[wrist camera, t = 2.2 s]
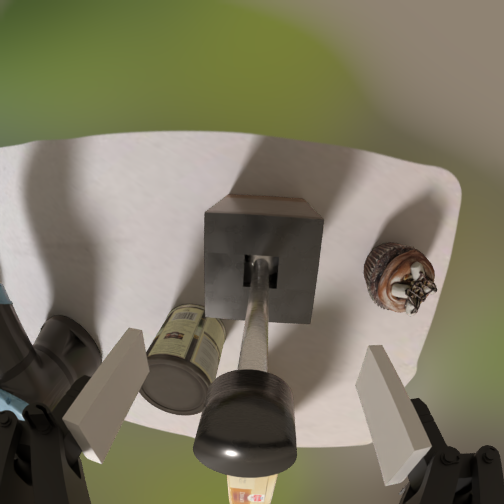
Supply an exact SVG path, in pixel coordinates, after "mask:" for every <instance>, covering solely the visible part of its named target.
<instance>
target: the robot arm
mask: <svg viewBox="0 0 504 504" xmlns="http://www.w3.org/2000/svg"><path fill="white" fill-rule="evenodd" d="M12 304H13V303H12V301H10V299H9V297H8V295H7V293H6V290H5V288H4V286H3V285H2V284H1V283H0V411H1V412H0V504H91V501H90V497H89V494H88V490H87V486H86V481H85V477H84V473H83V467H82V462H81V459H80V457H79V456H80V454H81V452H83V453H84V455H85V456H86V458H88V459H90V460H93V461H95V462H98V463H100V464H102V463H103V461H104V459H105V457H106V455H107V453H108V451H109V449H110V447H111V445H112V443H113V441H114V439H115V437H116V435H117V433H118V431H119V429H120V427H121V425H122V423H123V421H124V419H125V417H126V415H127V413H128V411H129V409H130V407H131V405H132V403H133V402H134V400H135V398H136V396H137V394H138V392H139V390H140V388H141V386H142V384H143V382H144V381H145V379H146V377H147V375H148V373H149V366H148V361H147V355H146V350H145V344H144V339H143V332H142V330H138V329H132V328H128V330H127V331H126V332H125V334H124V335H123V336H122V337H121V339H120V340H119V341H118V343H117V344H116V345H115V346H114V348H113V349H112V350H111V352H110V353H109V354H108V356H107V357H106V358H105V360H104V361H103V362H102V364H101V356H100V353H99V350H98V348H97V346H96V344H95V342H94V341H93V339H92V338H91V336H90V335H89V334H88V333H87V332H86V331H85V330H84V329H83V328H82V327H81V326H80V325H79V324H78V323H76V322H75V321H73V320H72V319H70V318H68V317H65V316H61V315H56V316H53V317H51V318H50V319H48V320H47V321H46V322H45V323H44V324H43V326H42V328H41V331H40V333H39V335H38V337H37V339H36V341H35V343H34V344H33V345H32V344H31V342H30V340H29V338H28V336H27V334H26V332H25V330H24V328H23V326H22V324H21V322H20V320H19V318H18V316H17V314H16V312H15V309H14V307H13V305H12ZM355 386H356V389H357V392H358V395H359V398H360V401H361V404H362V407H363V411H364V414H365V417H366V420H367V424H368V427H369V430H370V433H371V437H372V440H373V444H374V447H375V450H376V454H377V458H378V461H379V465H380V468H381V472H382V476H383V480H384V483H385V486H388V485H392V484H397V483H401V482H402V481H403V480H404V479H405V478H406V477H407V476H408V478H409V483H408V484H407V485H406V486H405V487H404V488H403V489H402V490H401V491H400V493H399V494H402V493H403V492H404V493H403V496H402V498H401V500H400V503H399V504H504V479H503V473H502V465H501V459H500V455H499V452H498V451H497V449H496V448H494V447H493V446H489V445H486V446H482V447H481V448H480V449H479V450H478V451H477V452H476V453H470V454H460V452H459V451H458V450H457V449H455V448H453V447H450V446H447V445H446V443H445V441H444V439H443V437H442V435H441V433H440V431H439V429H438V427H437V425H436V423H435V422H434V419H433V417H432V415H430V414H431V413H430V411H429V409H428V407H427V405H426V404H425V403H424V402H422V401H421V400H420V399H419V398H416V399H410V398H409V396H408V394H407V392H406V390H405V388H404V386H403V384H402V382H401V380H400V378H399V376H398V374H397V372H396V370H395V368H394V367H393V365H392V363H391V361H390V359H389V357H388V355H387V353H386V352H385V350H384V348H383V346H382V345H372V346H368V349H367V352H366V355H365V359H364V362H363V365H362V368H361V371H360V374H359V377H358V380H357V382H356V385H355Z"/></svg>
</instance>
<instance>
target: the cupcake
mask: <svg viewBox="0 0 504 504" xmlns="http://www.w3.org/2000/svg"><path fill="white" fill-rule="evenodd" d="M364 278H365V280H366V283H367V288H368V292H369V294H370V297H371V298H372V301H374V303H375V304H376V303H377V306H378V307H379V305H380V307H381V308H382V307H383V309H387V310H391V311H392V310H393V311H395V312H400V313H401V312H406V314H407V315H409V316H412V315H414V314H416V313H417V312H418V309H419V307H420V304H421V303H422V302H424V301H425V299H426V297H427V296H428V295H429V294H431V295H432V294H434V293H436V292H437V288H436V285H435V283H434V278H435V274H434V269H433V266H432V264H431V263H430V262H429V260H428V259H427V258H426V257H425V256H424V254H423V253H421V252H420V251H418V250H417V249H415V248H414V247H410V246H407V245H401V244H396V243H391V242H390V243H384V244H382V245H379V246H378V247H376V248H375V249H373V251H372V252H371V253H370V254H369V255H368V257H367V259H366V261H365V264H364Z"/></svg>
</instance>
